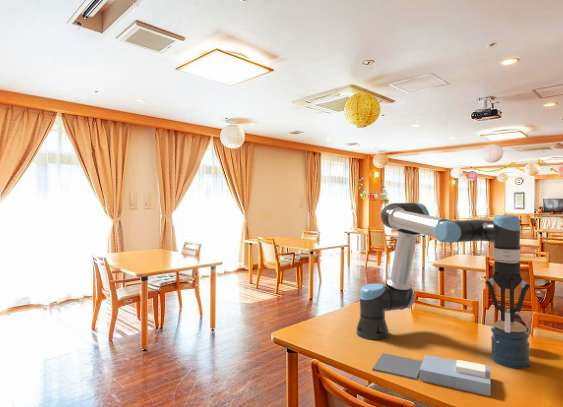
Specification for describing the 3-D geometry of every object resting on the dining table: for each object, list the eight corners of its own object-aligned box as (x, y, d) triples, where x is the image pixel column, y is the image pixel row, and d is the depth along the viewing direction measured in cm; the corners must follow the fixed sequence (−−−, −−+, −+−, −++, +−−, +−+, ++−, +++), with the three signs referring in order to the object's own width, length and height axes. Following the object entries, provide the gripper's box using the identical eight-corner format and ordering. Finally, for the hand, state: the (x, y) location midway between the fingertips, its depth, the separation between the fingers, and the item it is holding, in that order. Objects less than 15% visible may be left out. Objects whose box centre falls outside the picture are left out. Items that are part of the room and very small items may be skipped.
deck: (419, 380, 130) (419, 369, 130) (425, 364, 142) (425, 354, 142) (490, 396, 119) (490, 384, 119) (490, 377, 131) (490, 366, 131)
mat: (372, 369, 138) (372, 368, 138) (382, 354, 152) (382, 352, 152) (416, 379, 130) (416, 378, 130) (423, 362, 144) (423, 360, 144)
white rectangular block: (455, 371, 127) (455, 366, 127) (457, 365, 133) (457, 359, 133) (485, 377, 123) (485, 371, 123) (485, 370, 128) (485, 364, 128)
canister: (490, 364, 142) (490, 319, 142) (491, 352, 153) (491, 310, 153) (530, 372, 135) (530, 325, 135) (528, 359, 146) (528, 315, 146)
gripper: (484, 261, 122) (485, 331, 122) (531, 264, 116) (532, 338, 116) (484, 258, 129) (485, 324, 129) (529, 260, 122) (529, 330, 122)
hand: (507, 331), depth 122 cm, fingers closed
